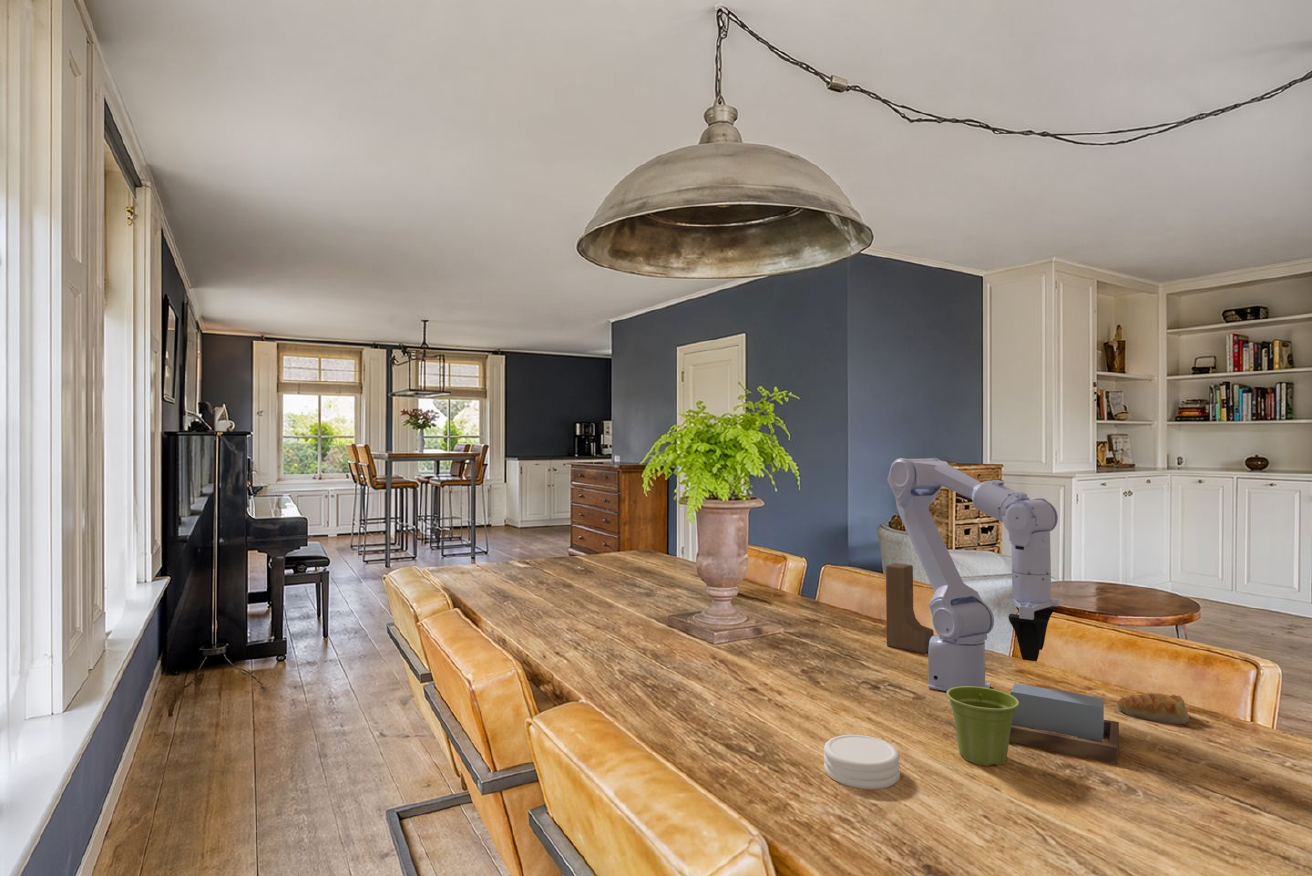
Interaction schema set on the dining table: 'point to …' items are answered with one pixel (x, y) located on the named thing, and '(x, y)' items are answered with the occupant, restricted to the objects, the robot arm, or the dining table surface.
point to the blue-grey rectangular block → (1059, 712)
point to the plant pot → (982, 723)
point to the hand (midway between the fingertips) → (1032, 654)
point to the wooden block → (903, 611)
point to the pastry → (1155, 707)
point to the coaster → (861, 761)
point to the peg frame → (1071, 742)
